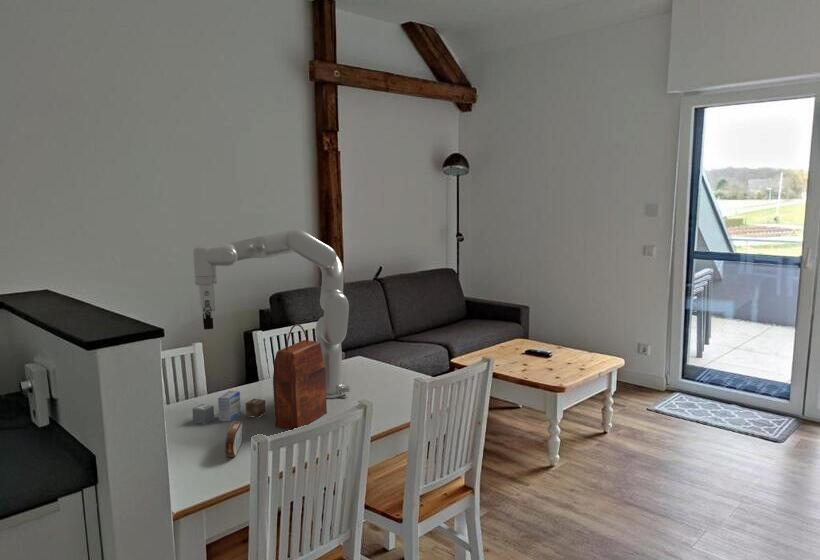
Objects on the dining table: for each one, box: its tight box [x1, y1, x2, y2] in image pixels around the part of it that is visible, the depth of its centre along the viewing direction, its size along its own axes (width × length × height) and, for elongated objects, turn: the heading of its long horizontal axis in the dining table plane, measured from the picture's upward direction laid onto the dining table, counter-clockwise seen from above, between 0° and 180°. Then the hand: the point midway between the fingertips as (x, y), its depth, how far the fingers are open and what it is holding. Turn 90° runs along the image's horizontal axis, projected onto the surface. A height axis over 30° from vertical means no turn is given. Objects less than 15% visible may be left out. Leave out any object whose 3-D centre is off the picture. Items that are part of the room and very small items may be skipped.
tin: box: [224, 420, 244, 458], centre depth 182 cm, size 15×3×8 cm, turn 5°
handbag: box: [272, 323, 328, 430], centre depth 206 cm, size 10×19×35 cm, turn 155°
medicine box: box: [217, 390, 242, 422], centre depth 210 cm, size 8×4×9 cm, turn 168°
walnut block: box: [245, 398, 267, 418], centre depth 213 cm, size 5×5×5 cm
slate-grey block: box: [192, 403, 215, 425], centre depth 208 cm, size 5×5×5 cm
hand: (208, 326), depth 216 cm, fingers open, 9 cm apart
